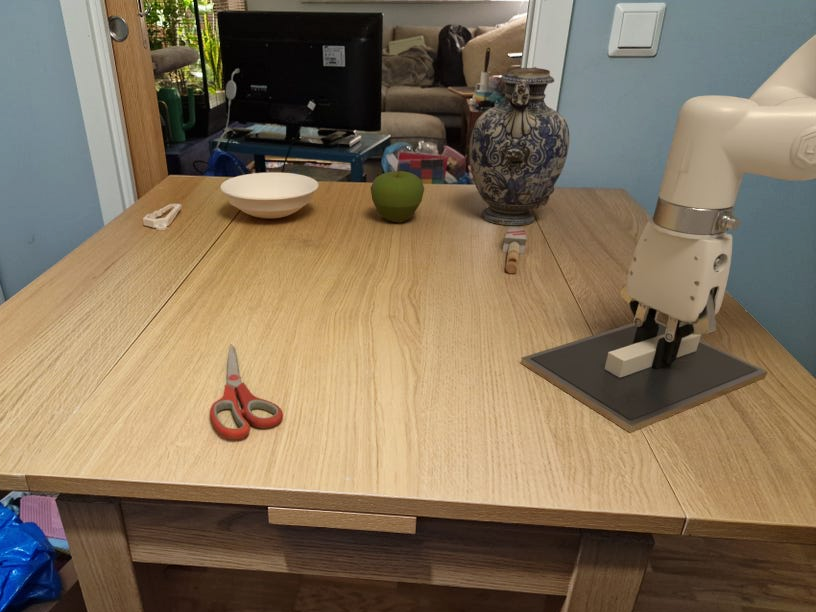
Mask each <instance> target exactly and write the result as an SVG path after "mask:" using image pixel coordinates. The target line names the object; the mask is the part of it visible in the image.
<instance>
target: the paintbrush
mask: <svg viewBox="0 0 816 612" xmlns="http://www.w3.org/2000/svg"><path fill="white" fill-rule="evenodd" d="M503 238H504V239H503V246H502V251H501V252H502V253H507V255H506V256H507V257H506V263H505V271H506V272H507V273H508V274H515V273H516V272H517V271H518V267H519V266H518V265H519V257H520V255H519V254H522V255H525V249H526V243H527V234H526V228H525V227H524V226H523V227H522V226H508V229H507V231H506V233H505V236H504V237H503Z"/></svg>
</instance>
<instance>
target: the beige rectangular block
mask: <svg viewBox="0 0 816 612" xmlns="http://www.w3.org/2000/svg"><path fill="white" fill-rule="evenodd" d="M664 335H665V334H663V335H660V336H657V337H654V338H651V339H648V340H645V341H642V342H638V343H635V344H632V345H629V346H626V347H623V348H620V349H617V350H614V351H611V352H608V356H607V360H606V364H605V368H604V369H605V370H607V371H609V372H610V373H612V374H614V375H616V376H617V377H619V378H621V377H624V376H627V375H629V374H632V373H635V372H638V371H641V370H644V369H647V368H649V367H652V364H653V360H654V357H655V353H656V347H657V344H658V340H659V339H660V338H663V337H664ZM701 337H702V334H698V335H694V334H691V335H689V336H686V337H684V338H682V340H681V343H680V347H679V350H678V354H677V357H676V358H678V357H681V356H683V355H686V354H689V353H692V352H695V351H696V350H697V347H698V344H699V340H700V341H701Z"/></svg>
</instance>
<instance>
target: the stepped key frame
mask: <svg viewBox="0 0 816 612" xmlns="http://www.w3.org/2000/svg"><path fill="white" fill-rule="evenodd" d="M182 208H183V207H182V204H180V203H169V204H168V205H166V206H164V207H163V208H160V209H159V210H154V211H153V212H152V213H148V214H146V215H145V216H144V217H143V218H142V222H143V225H144V226H145V227H150V228H153V229H155V230H156V231H166V230H168V227H169V226H170V225H171V224H172V223H173V222H174V219H175V218H176V217H177V215H178V214H179V212H180V210H181V209H182ZM169 209H171V210H170V212H169V213H168V214H166V216H165V217H163V216H162V215H163V214H164V213H166V212H167V211H168V210H169ZM161 216H162V217H161ZM158 217H159V218H158ZM160 217H161V218H160Z"/></svg>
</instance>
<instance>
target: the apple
mask: <svg viewBox="0 0 816 612" xmlns="http://www.w3.org/2000/svg"><path fill="white" fill-rule="evenodd" d="M424 192H425V186H424V183H423V180H422V179H421V178H420V177H419V176H417V175H416V174H415V173H412V172H409V171H405V170H394V171H388V172H383V173H382V174H379V175H378V176H377V177H374V180H373V182H372V184H371V186H370V194H371V195H370V196H371V200H372V202H373V204H374V206H375V209H376V211H377V214H378V215H379V216H380V217H382V218H384V219H385V220H386V221H389V222H393V223H404V222H406V221H407V220H409V219H410V218H411V217H413V216H414V215H415V213H416V211H417V210H418V208H419V206H420V205H421V203H422V200H423V197H424Z"/></svg>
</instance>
